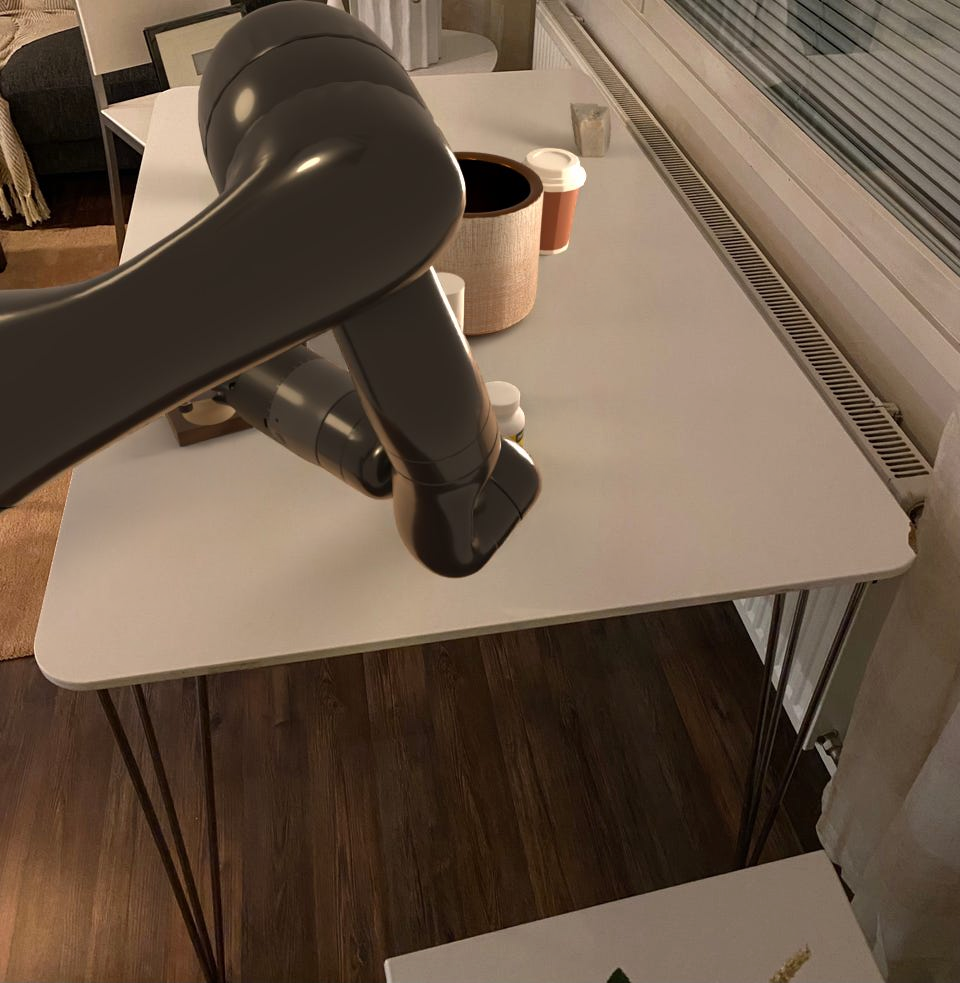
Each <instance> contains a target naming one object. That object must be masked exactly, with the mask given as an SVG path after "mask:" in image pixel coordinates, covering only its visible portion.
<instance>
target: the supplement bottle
mask: <svg viewBox="0 0 960 983" xmlns="http://www.w3.org/2000/svg"><path fill="white" fill-rule="evenodd" d="M485 386H486V389H487V392H488V395H489V398H490V401H491V404H492V408H493V411H494V414H495V417H496V421H497V424H498V427H499V432H500V434H502V435H504V436H506V437H508V438H510V439H512V440H513V441H515V442H516V443H518V444H519V445H521V446H522V447H523V448H524V435H525V426H526V416H525V414H524V411H523V409H522V408H521V407H520V403H521V402H520V401H521V393H520V390H519V389H518V388H517V387H516V386H515V385H514V384H511V382H510V383H509V382H507V381H502V380H494V381H489V382H486V383H485Z"/></svg>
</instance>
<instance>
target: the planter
mask: <svg viewBox="0 0 960 983" xmlns="http://www.w3.org/2000/svg"><path fill="white" fill-rule="evenodd" d="M453 153H454V155H455V157H456V159H457V161H458V163H459V166H460V169H461V172H462V175H463V178H464V181H465V188H466V204H465V209H464V213H463V218H462V221H461V224H460V227H459V229H458V231H457V234H456V235H455V237H454V239H453V241H452V242H451V244H450V245H449V246H448V248H447V249H446V250H445V252H444V253H443V254H442V256H441V257H440V258H439V259H438V260H437V262H436V263H435V264H434V265H433V267H434V269H435V272H436V273H442V272H443V273H451V274H454V275H457V276H459V277H460V278H462V279H463V281H464V284H465V285H464V318H463V333H464V335H465V336H481V335H482V336H483V335H486V334H493V333H497V332H500V331H503V330H506V329H509V328H510V327H512V326H513V327H514V325H516V324H518V323H520V322H521V321H523V320H524V319H525V318H526V317H527V316H529V314H530V313H531V312H532V310H533V308H534V306H535V303H536V298H537V291H538V290H537V289H538V277H539V276H538V275H539V260H540V254H539V247H540V232H541V219H542V206H543V193H544V186H543V182H542V180H541V178H540V177H539V175H538V174H537V173H536V172H535V171H533V170H532V169H531V168H529V167H528V166H526V165H524V164H522V162H520V161H517V160H515V159H512V158H509V157H506V156H502V155H498V154H495V153H487V152H478V151H453Z"/></svg>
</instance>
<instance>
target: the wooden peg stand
mask: <svg viewBox="0 0 960 983" xmlns="http://www.w3.org/2000/svg"><path fill="white" fill-rule="evenodd" d="M234 413H235V410H234V409H233V408H232V407H230V406H226V405H220V404H217V403H215V402H213V401H212V400H211V399H208V400H204V401H199V402H194V403H193V410H192V411H191V412H189V413H182V414H183V416H184V418H185V419H186V420H187V421H189V422H191V423H194V424H198V425H213V424H218V423H221V422H223V421H225V420H227V419H229V418H230V417H231V416H232V415H233V414H234Z"/></svg>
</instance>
